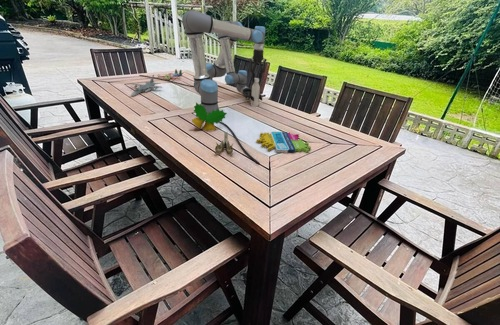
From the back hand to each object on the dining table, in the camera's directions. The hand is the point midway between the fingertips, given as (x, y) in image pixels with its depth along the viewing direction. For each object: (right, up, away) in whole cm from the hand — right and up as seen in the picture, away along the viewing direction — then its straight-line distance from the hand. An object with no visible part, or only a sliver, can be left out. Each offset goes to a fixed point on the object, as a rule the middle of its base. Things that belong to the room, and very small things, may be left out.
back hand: (257, 99), depth 208 cm
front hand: (-1, +13, -2) cm, 14 cm away
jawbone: (-20, -45, -69) cm, 85 cm away
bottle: (-2, -3, +7) cm, 8 cm away
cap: (-1, +15, -3) cm, 15 cm away
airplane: (-99, +13, +23) cm, 102 cm away
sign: (+12, -39, -55) cm, 69 cm away
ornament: (-32, -29, -43) cm, 61 cm away
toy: (-90, +41, +74) cm, 124 cm away
